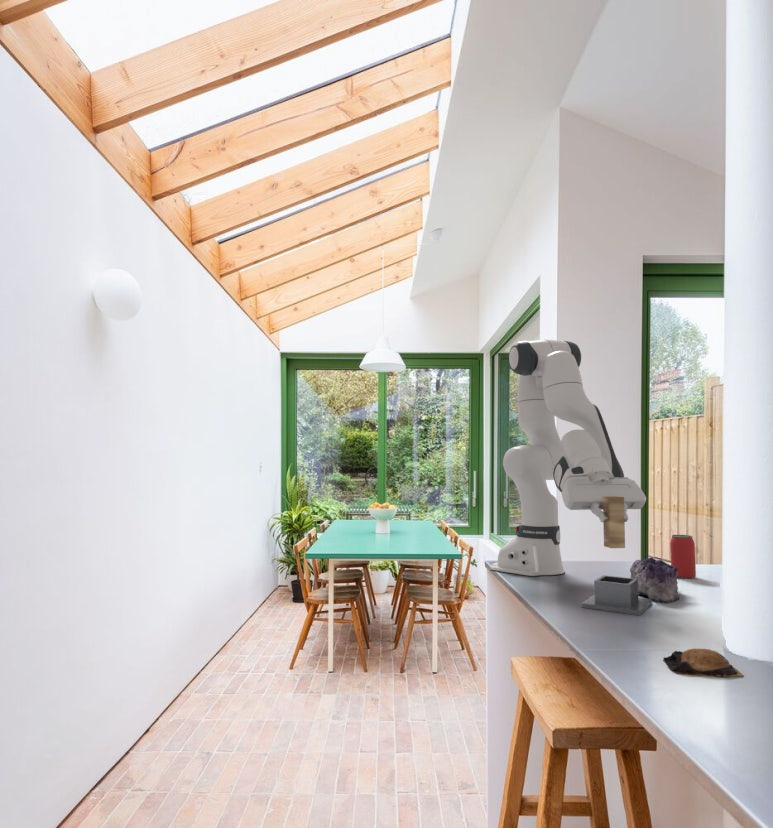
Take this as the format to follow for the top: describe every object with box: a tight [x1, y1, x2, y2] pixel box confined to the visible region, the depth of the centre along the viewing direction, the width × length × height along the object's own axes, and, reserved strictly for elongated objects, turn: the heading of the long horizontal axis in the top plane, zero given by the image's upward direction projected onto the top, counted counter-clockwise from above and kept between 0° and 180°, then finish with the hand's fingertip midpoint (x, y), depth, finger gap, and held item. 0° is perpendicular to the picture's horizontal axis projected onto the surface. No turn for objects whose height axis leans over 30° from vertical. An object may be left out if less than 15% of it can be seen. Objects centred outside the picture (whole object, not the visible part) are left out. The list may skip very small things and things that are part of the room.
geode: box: [629, 557, 680, 604], centre depth 155 cm, size 20×12×10 cm, turn 168°
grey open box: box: [581, 575, 653, 616], centre depth 143 cm, size 13×13×6 cm
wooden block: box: [602, 496, 626, 549], centre depth 144 cm, size 4×4×12 cm
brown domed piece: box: [662, 648, 745, 678], centre depth 101 cm, size 11×9×4 cm
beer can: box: [669, 534, 697, 580], centre depth 178 cm, size 7×7×12 cm
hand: (615, 520), depth 144 cm, fingers closed on wooden block, 3 cm apart
